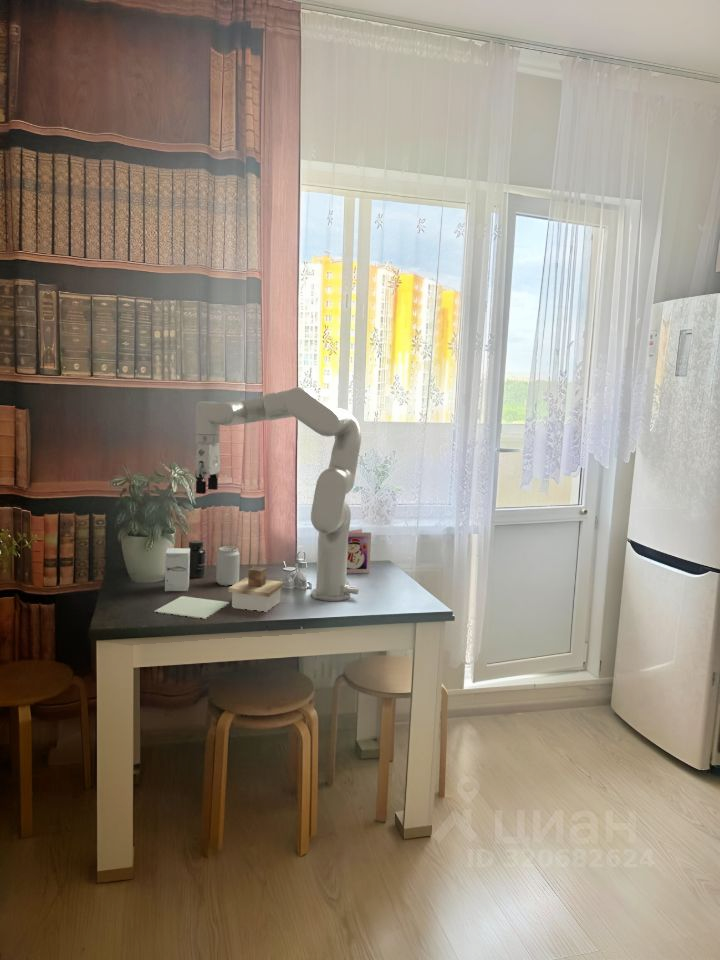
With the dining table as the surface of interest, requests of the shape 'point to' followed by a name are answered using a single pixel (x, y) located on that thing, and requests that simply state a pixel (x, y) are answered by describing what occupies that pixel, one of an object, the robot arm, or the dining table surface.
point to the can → (227, 566)
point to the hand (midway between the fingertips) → (206, 491)
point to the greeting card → (358, 551)
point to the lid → (256, 584)
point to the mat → (192, 607)
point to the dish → (255, 601)
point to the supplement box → (177, 569)
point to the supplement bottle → (197, 559)
